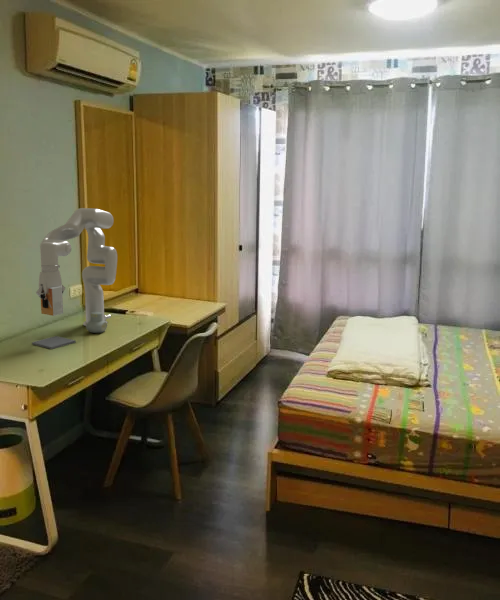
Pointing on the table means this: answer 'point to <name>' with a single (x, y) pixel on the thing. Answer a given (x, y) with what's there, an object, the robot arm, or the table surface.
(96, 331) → the air freshener
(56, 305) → the small box
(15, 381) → the table surface
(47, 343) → the rest mat
